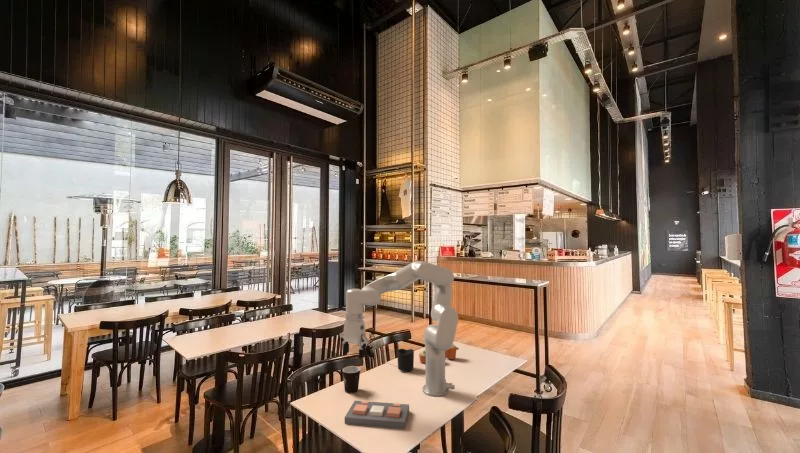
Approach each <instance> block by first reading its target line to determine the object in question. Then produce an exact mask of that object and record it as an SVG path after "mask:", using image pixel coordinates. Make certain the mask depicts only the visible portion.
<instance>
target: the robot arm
mask: <svg viewBox="0 0 800 453" xmlns="http://www.w3.org/2000/svg"><path fill="white" fill-rule="evenodd" d="M418 280H422V281H424V282H428V283H431V284H432V285H433V288H434V297H433V301H432V306H431V309H430V310H431V311H430V317H431V319H432V320H433V321H434V322H435V323H437V324H434V323H433V324H429V325H427V326H426V327H425V329H424V332H423V341H424V347H425V349H424V350H425V353H426V363H425V384H424V385H423V386H422V392H423V393H424V394H425V395H428V396H431V397H443V396H445V395H447V394H449V389H450V390H456V388H455V384H453V382H447V379H446V360H445V359H446V355H445V351H446V350H448V349H450V348H451V346H452V344H454V341H455V336H456V333H457V327H458V322H459V316H458V312H457V311H456V309H455V308H454V307H452V306H451V303H452V298H453V289H452V283H454V280H455V276H454V273H453V271H452V270H451V269H449V268H446V267H444V266H440V265H436V264H434V263H433V264H432V263H431V262H428V261H427V262H426V261H423V260H415V261H413V262H411V263H409V264H407V265H405V266H403V267H402V268H399V269H397V270H395V271H394V272H393V273H390V274H387V275H384V276H383V277H380V278H377V279H375V280H374V281H372V282H370V283H368V284H366V285H364V286H363V287H362V288H361V289H360V288H349V289H347V290H346V292H345V319H344V324H343V331H342V332H340V333H339V337H340V341H341V345H342V354H343V355H346V354H349V353H350V344H353V345H357V346H358V348H359V349H358V359H360V360H361V359H363V358H365V357H366V356H365V355H366V348H367V347H368V345H369V343H370V339H369V338H368V337H367V336H366V333H367V332H366V324H365V323H366V322H365V320H364V318H365V317H364V310H363V309H364V306H370V307H373V306H376V305H378V304H380V302H381V300H382V295H383V294H386V293H388V292H394V291H399V290H403V289H404V288H406V287H408V286H410V285H411V284H413V283H415V282H416V281H418Z"/></svg>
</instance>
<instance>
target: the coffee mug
mask: <svg viewBox="0 0 800 453" xmlns="http://www.w3.org/2000/svg"><path fill="white" fill-rule="evenodd" d="M360 375H361V367H359V366H356V365H349V366H346V367H344V368H342V378H343V387H344V388H343V389H344V392H345V393H347V394H354V393H355V394H356V393H357V392H358V391H359V385H360V384H359V383H360Z"/></svg>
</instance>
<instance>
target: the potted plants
mask: <svg viewBox="0 0 800 453" xmlns="http://www.w3.org/2000/svg"><path fill="white" fill-rule="evenodd" d="M457 350H460V348H459V347H458V346H456V345H455V344H454V343H453V344H452V346H451V348H450V349H448V350H446V351H445V361H446V358H447V359H448V360H455V359H456V358H457V357H456V356H457ZM418 357H419V362H420V363H423V364H426V353H425V349H424V350H423V351H422V352H420V353H419V354H418Z"/></svg>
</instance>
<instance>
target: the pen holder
mask: <svg viewBox="0 0 800 453" xmlns="http://www.w3.org/2000/svg"><path fill="white" fill-rule="evenodd" d="M396 352H397V354H396V356H397V368H398V370H399V371H401V372H410V371H413V370H414V360H415V359H414V358H415V350H414V349H412V348H410V349H405V348H399V349H397V351H396Z"/></svg>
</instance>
